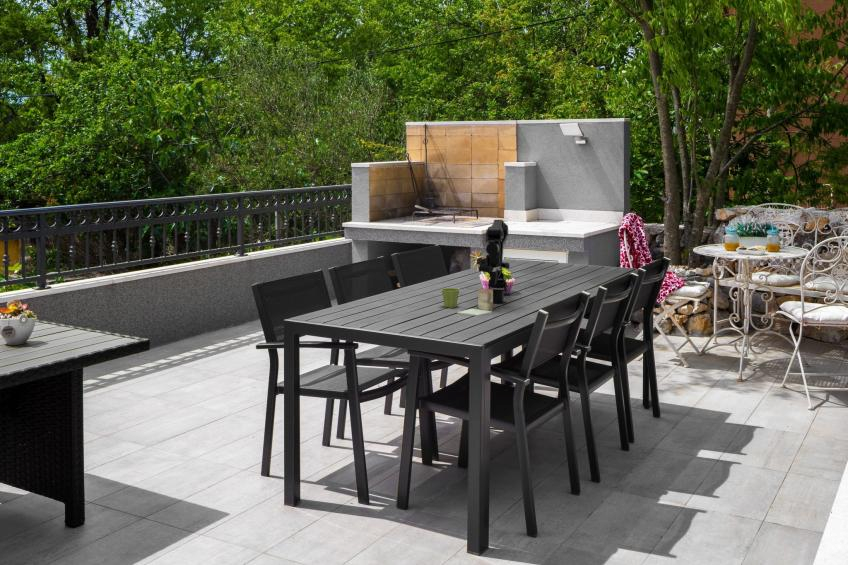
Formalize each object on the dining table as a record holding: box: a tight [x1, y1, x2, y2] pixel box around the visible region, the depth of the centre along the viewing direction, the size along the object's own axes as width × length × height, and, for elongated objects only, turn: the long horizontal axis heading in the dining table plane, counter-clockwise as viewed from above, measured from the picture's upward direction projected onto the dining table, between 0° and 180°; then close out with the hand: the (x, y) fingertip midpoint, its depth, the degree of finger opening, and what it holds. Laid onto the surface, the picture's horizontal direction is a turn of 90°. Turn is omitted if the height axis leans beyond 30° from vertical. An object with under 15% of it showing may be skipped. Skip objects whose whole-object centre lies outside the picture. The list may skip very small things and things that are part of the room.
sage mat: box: [456, 308, 493, 317], centre depth 449 cm, size 12×12×1 cm
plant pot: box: [440, 287, 461, 309], centre depth 465 cm, size 9×9×9 cm
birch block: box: [477, 288, 494, 311], centre depth 456 cm, size 5×5×10 cm
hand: (493, 284), depth 460 cm, fingers closed
